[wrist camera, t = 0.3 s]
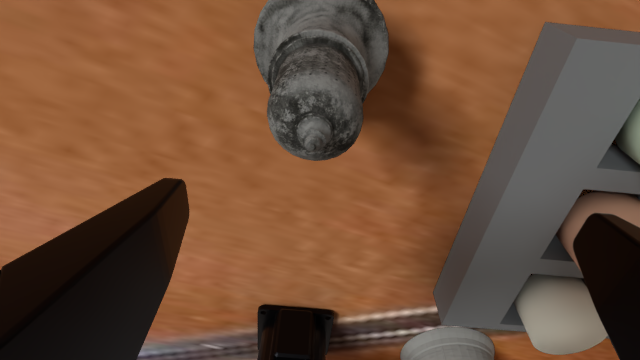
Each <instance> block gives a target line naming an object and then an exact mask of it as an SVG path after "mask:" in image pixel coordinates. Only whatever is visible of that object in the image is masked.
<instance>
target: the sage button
mask: <svg viewBox="0 0 640 360" xmlns="http://www.w3.org/2000/svg"><path fill="white" fill-rule="evenodd" d="M615 141H616V143H617V145H618V147H619V148H620V149H621V150H622V151H623V152H625V153H626V154H627V155H628V156H629V157H631V158H632V159H633V160H634V161H636V162H637V163H638V164H639V165H640V99H639V100H638V102H637V103H636V105H635V107H634V108H633V110H632V111H631V113H630V115H629V116H628V118H627V119H626V121H625V123H624V124H623V126H622V128H621V129H620V131H619V132H618V134H617V136H616V137H615Z"/></svg>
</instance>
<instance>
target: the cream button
mask: <svg viewBox="0 0 640 360" xmlns="http://www.w3.org/2000/svg"><path fill="white" fill-rule="evenodd" d="M513 303H514V305H515V307H516V309H517V312H518V314H519V316H520V318H521V320H522V322H523V325H524V327H525V329H526V331H527V333H528V335H529V337H530V340H531V342H532V344H533V346H534V347H535V348H536V349H538V350H539V351H541V352H544V353H548V354H555V355H564V354H572V353H577V352H581V351H584V350H587V349H589V348H591V347H593V346H595V345H597V344H599V343H600V342H602V341H603V340H604V339H605V338H606V337H607V336H608V334H607V332H606V330H605V328H604V326H603V324H602V322H601V320H600V318H599V316H598V314H597V311H596V309H595V307H594V304H593V302H592V299H591V296H590V294H589V291H588V288H587V287H586V285H585V284H584V282H583V281H582V280H581V278H576V277H564V276H553V275H541V274H533V275H531V276H529V277H528V279H527V281H526V282H525V284H524V285H523V287H522V289H521V290H520V292H519V294H518V295H517V297H516V298H515V300H514V302H513Z"/></svg>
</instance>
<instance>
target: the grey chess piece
mask: <svg viewBox="0 0 640 360" xmlns="http://www.w3.org/2000/svg"><path fill="white" fill-rule="evenodd" d="M254 52H255V57H256V62H257V66H258V68H259V70H260V72H261V74H262V76H263V79H264V81H265V82H266V83H267V84H268V86H269V91H270V94H271V95H270V98H269V101H268V107H267V117H268V122H269V126H270V130H271V132H272V134H273V136H274V138H275V140H276V141H277V142H278V143H279V144H280V145H281V146H282V147H283V148H284V149H285V150H287V151H288V152H290V153H291V154H292V155H295V156H297V157H300V158H302V159H307V160H313V161H318V160H328V159H331V158H334V157H337V156H339V155H341V154H342V153H344V152H346V151H347V150H348V149H349V148H350V147H351V146H352V145H353V144H354V143H355V141H356V139H357V137H358V135H359V133H360V131H361V127H362V122H363V106H362V104H363V102H364V100H365V99H366V96H367V94H368V93H369V91H370V90H371V89H372V88H373V87H374V86H375V85H376V83H377V82H378V80H379V78H380V76H381V74H382V73H383V71H384V68H385V64H386V60H387V56H388V31H387V27H386V24H385V20H384V16H383V14H382V13H381V11H380V9H379V8H378V6H377V4H376V3H375V1H374V0H268V2H267V3H266V5H265V6H264V8H263V9H262V11H261V12H260V15H259V18H258V21H257V24H256V27H255V33H254Z"/></svg>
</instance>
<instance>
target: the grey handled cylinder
mask: <svg viewBox="0 0 640 360" xmlns="http://www.w3.org/2000/svg"><path fill="white" fill-rule="evenodd" d="M494 352H495V351H494V345H493V342H492V341H491V339H490V338H489V337H488V336H486V335H485V334H483V333H481V332H479V331H476V330H473V329H469V328H463V327H445V328H438V329H434V330H429V331H427V332H424V333H421V334H419V335H417V336H415V337H414V338H412V339H411V340H409V341H408V342H407V343H406V344H405V345H404V347H403V348H402V350H401V353H400V358H401V360H494Z"/></svg>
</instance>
